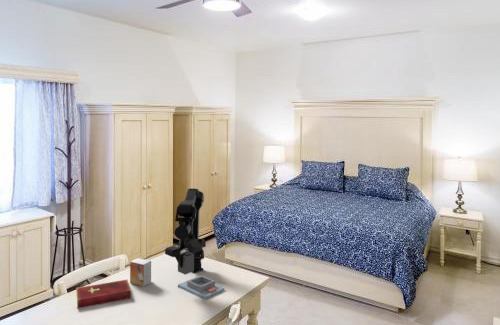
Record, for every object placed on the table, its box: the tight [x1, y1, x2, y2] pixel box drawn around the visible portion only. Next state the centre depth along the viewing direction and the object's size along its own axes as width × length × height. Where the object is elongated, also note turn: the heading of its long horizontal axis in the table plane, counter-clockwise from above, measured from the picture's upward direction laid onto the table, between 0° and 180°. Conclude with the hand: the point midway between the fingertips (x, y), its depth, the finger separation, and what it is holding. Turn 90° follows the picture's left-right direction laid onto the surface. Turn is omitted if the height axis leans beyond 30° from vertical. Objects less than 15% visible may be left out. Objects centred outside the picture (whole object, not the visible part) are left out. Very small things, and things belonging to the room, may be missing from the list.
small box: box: [129, 257, 152, 287], centre depth 174 cm, size 8×6×10 cm
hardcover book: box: [75, 279, 132, 309], centre depth 160 cm, size 12×21×4 cm, turn 117°
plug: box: [177, 250, 194, 275], centre depth 165 cm, size 5×5×9 cm
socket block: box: [177, 275, 225, 300], centre depth 170 cm, size 18×12×4 cm, turn 50°
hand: (185, 265), depth 166 cm, fingers closed on plug, 5 cm apart
